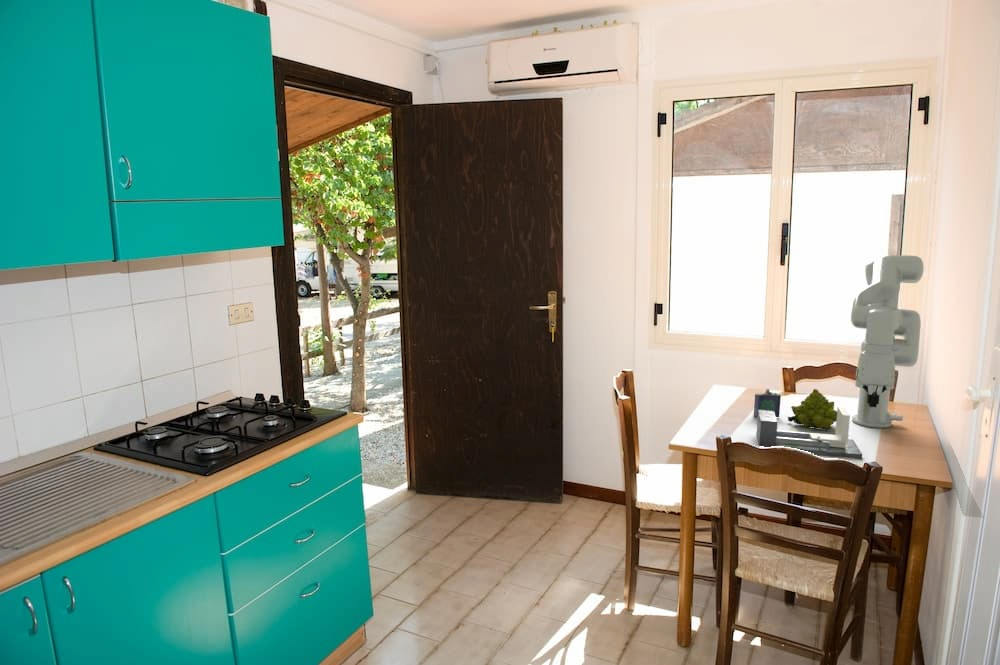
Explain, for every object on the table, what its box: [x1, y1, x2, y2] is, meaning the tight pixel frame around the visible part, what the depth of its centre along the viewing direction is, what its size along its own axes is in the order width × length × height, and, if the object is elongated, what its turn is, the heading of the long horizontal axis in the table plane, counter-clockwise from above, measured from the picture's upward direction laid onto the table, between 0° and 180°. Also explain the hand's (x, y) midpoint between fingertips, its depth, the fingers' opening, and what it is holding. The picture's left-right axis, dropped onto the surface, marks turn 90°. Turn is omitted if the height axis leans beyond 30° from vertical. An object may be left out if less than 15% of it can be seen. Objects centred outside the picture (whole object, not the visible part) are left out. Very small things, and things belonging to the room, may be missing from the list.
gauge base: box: [755, 410, 863, 460], centre depth 216 cm, size 30×14×10 cm, turn 73°
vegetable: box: [787, 388, 837, 431], centre depth 235 cm, size 15×16×15 cm
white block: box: [809, 406, 851, 448], centre depth 213 cm, size 10×11×11 cm
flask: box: [753, 388, 782, 418], centre depth 247 cm, size 9×3×11 cm, turn 83°
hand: (872, 406), depth 208 cm, fingers closed
